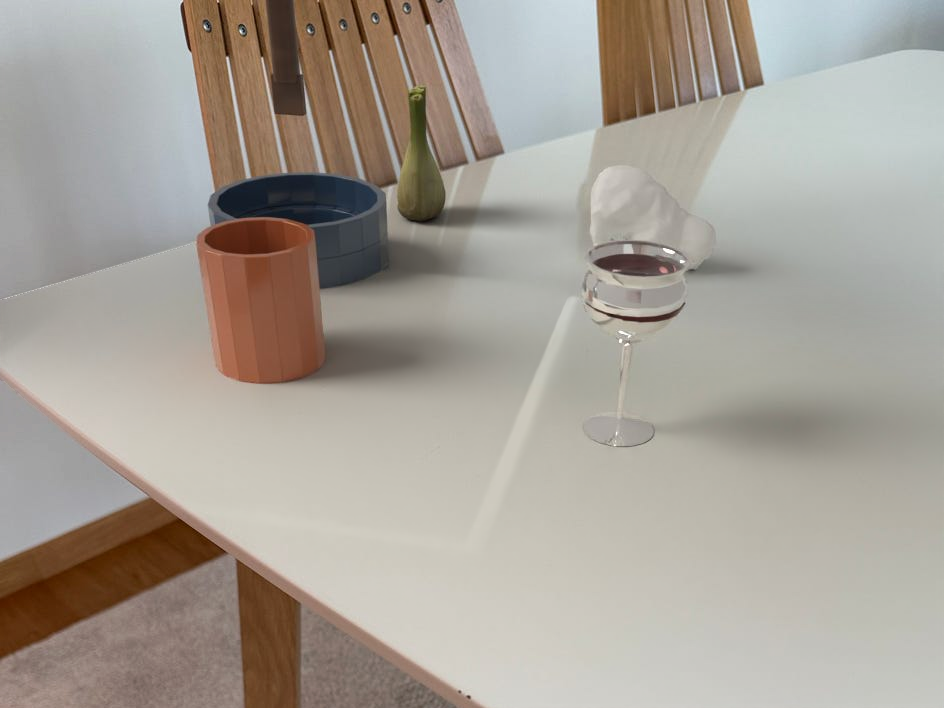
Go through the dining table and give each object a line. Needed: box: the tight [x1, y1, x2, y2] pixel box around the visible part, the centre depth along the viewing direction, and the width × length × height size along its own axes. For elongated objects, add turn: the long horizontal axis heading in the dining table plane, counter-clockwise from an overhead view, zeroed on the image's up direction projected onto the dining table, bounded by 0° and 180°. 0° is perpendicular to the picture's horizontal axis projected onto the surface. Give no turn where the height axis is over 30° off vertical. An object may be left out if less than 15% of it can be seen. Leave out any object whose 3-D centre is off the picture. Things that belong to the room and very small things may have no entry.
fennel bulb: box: [396, 84, 447, 222], centre depth 104 cm, size 6×5×12 cm
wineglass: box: [581, 239, 690, 447], centre depth 70 cm, size 7×7×12 cm
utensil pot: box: [195, 217, 326, 385], centre depth 77 cm, size 8×8×10 cm
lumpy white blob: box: [589, 164, 717, 272], centre depth 95 cm, size 6×8×12 cm
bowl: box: [207, 171, 390, 290], centre depth 95 cm, size 16×16×6 cm
